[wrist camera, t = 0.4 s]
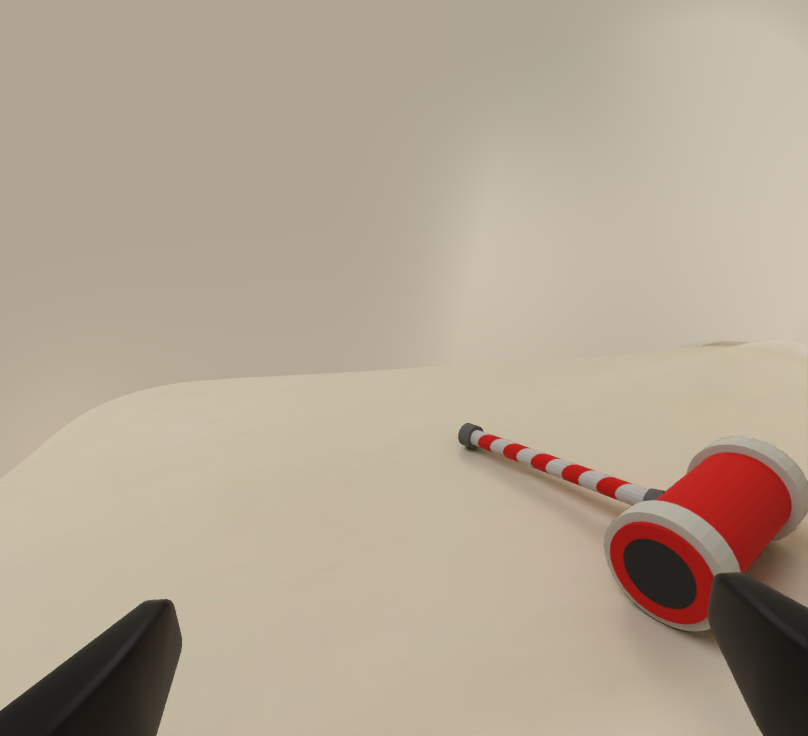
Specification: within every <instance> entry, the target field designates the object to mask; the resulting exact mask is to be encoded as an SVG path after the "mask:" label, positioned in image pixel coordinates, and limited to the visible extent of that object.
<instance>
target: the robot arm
mask: <svg viewBox="0 0 808 736" xmlns="http://www.w3.org/2000/svg"><path fill="white" fill-rule="evenodd" d="M707 615H708V622H709V625H710V628H711V631H712V633H713V635H714V637H715V639H716V641H717V643H718V645H719V647H720V649H721V651H722V654H723V656H724V658H725V660H726V662H727V664H728V666H729V668H730V670H731V672H732V675H733V677H734V679H735V681H736V683H737V685H738V687H739V689H740V691H741V693H742V695H743V698H744V700H745V702H746V704H747V706H748V708H749V710H750V712H751V714H752V716H753V718H754V720H755V722H756V724H757V726H758V727H759V729H760V731H761V733H762V734H763V736H808V608H807V607H805V606H803V605H801V604H800V603H798V602H796V601H794V600H792V599H790V598H789V597H787V596H785V595H783V594H781V593H780V592H778V591H776V590H774V589H772V588H770V587H769V586H767V585H765V584H763V583H761V582H760V581H758V580H756V579H754V578H752V577H751V576H749V575H747V574H745V573H742V572H728V573H718V574H716V575H715V576H714V578H713V581H712V587H711V593H710V599H709V605H708V612H707ZM181 648H182V636H181V632H180V627H179V623H178V619H177V615H176V611H175V607H174V604H173V603H172V601H171V600H168V599H161V600H148V601H145V602H143V603H142V604H140V605H139V606H137V607H136V608H135V609H133V610H132V611H131V612H130V613H128V614H127V615H126V616H124V617H123V618H122V619H120V620H119V621H118V622H116V623H115V624H114V625H112V626H111V627H110V628H109V629H107V630H106V631H105V632H103V633H102V634H101V635H99V636H98V637H97V638H95V639H94V640H93V641H91V642H90V643H89V644H88V645H86V646H85V647H84V648H82V649H81V650H80V651H78V652H77V653H76V654H74V655H73V656H72V657H70V658H69V659H68V660H66V661H65V662H64V663H63V664H61V665H60V666H59V667H57V668H56V669H55V670H53V671H52V672H51V673H49V674H48V675H47V676H45V677H44V678H43V679H42V680H40V681H39V682H38V683H36V684H35V685H34V686H32V687H31V688H30V689H28V690H27V691H26V692H24V693H23V694H22V695H21V696H19V697H18V698H17V699H15V700H14V701H13V702H11V703H10V704H9V705H7V706H6V707H5V708H3V709H2V710H1V711H0V736H156V735H157V732H158V728H159V725H160V721H161V718H162V715H163V711H164V708H165V704H166V701H167V698H168V694H169V691H170V688H171V684H172V681H173V677H174V674H175V671H176V667H177V664H178V660H179V657H180V653H181Z"/></svg>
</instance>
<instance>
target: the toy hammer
mask: <svg viewBox="0 0 808 736" xmlns="http://www.w3.org/2000/svg"><path fill="white" fill-rule="evenodd" d="M458 439H459V442H460V443H461V444H462V445H465V446H467V447H470V448H473V449H475V448H477V447H480V448H483V449H486V450H488V451H491V452H493V453H496V454H499V455H501V456H504V457H506V458H509V459H512V460H514V461H517V462H520V463H522V464H525V465H527V466H530V467H533V468H535V469H538V470H541V471H543V472H546V473H548V474H551V475H554V476H556V477H559V478H562V479H564V480H567V481H569V482H572V483H575V484H577V485H580V486H582V487H585V488H588V489H590V490H593V491H596V492H598V493H601V494H603V495H606V496H609V497H611V498H614V499H617V500H619V501H622V502H624V503H627V504H630V505H632V506H631V507H630V508H629V509H627V510H626V511H625V512H623V513H622V514H621V515H620V516H618V517H617V518H616V519H615V520H613V521H612V523H611V524H610V525H609V527H608V528H607V531H606V534H605V539H604V549H605V556H606V559H607V563H608V566H609V568H610V570H611V572H612V575H613V576H614V578H615V580H616V581H617V583H618V584H619V586H620V587H621V588H622V590H623V591H624V592H625V593H626V595H627V596H628V597H629V598H630V599H631V600H632V601H633V602H634V603H635V604H636V605H637V606H638V607H640V608H641V609H642V610H643V611H645V612H646V613H647V614H648V615H650V616H652V617H653V618H655V619H657V620H658V621H660V622H662V623H664V624H666V625H669V626H671V627H674V628H677V629H681V630H686V631H705V630H708V629H711V628H710V625H709V622H708V615H707V612H708V605H709V599H710V593H711V587H712V581H713V578H714V576H715V575H716V574H718V573H728V572H742V573H745V571H746V570H747V569H748V568H749V567H750V565H751V564H752V563H753V562H754V561H755V559H756V558H757V557H758V556H759V555H760V553H761V552H762V551H763V550H764V549H765V547H766V546H767V545H768V544H769V543H770V542H771V541H776V540H780V539H782V538H784V537H786V536H788V535H789V534H790V533H791V532H793V531H794V530H795V529H796V527H797V526H798V525H799V524H800V522H801V521H802V520H803V519H804V517H805V516H806V514H807V512H808V481H807V479H806V477H805V475H804V473H803V472H802V470H801V469H800V468H799V466H798V465H797V464H796V463H795V462H794V461H793V460H792V459H791V458H790V457H789V456H788V455H787V454H786V453H784V452H783V451H781V450H780V449H778V448H777V447H775V446H773V445H771V444H769V443H767V442H764V441H761V440H758V439H755V438H750V437H744V436H731V437H726V438H721V439H719V440H716V441H714V442H712V443H711V444H709V445H708V446H707V447H705V448H704V449H703V450H702V451H700V452H699V453H698V454H697V455H696V456H695V457H694V458H693V459H692V461H691V462H690V465H689V467H688V470H687V474H686V475H685V476H684V477H683V478H681V479H680V480H679V481H678V482H677V483H675V484H674V485H673V486H672V487H670V488H669V489H668V490H667V491H662V490H657V489H646V488H643V487H640V486H637V485H634V484H632V483H629V482H626V481H623V480H620V479H617V478H614V477H611V476H609V475H606V474H603V473H600V472H597V471H594V470H591V469H588V468H586V467H583V466H580V465H577V464H574V463H571V462H568V461H565V460H563V459H560V458H557V457H554V456H551V455H548V454H545V453H542V452H540V451H537V450H534V449H531V448H528V447H525V446H522V445H519V444H517V443H514V442H511V441H508V440H505V439H502V438H499V437H496V436H494V435H491V434H488V433H485V432H483V429H482V428H481V427H479V426H476V425H473V424H470V423H466V424H464V425H463V426H462V427H461V429H460V431H459V435H458Z"/></svg>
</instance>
